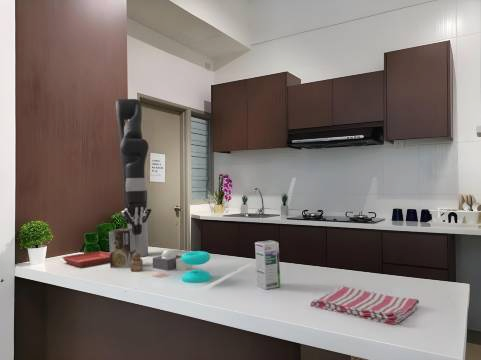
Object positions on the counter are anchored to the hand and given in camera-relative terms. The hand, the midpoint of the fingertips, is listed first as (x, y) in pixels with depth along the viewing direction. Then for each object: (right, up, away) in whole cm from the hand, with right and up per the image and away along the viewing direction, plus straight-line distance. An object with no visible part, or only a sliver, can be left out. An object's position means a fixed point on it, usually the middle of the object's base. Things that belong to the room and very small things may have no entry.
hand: (136, 234), depth 143 cm
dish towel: (+73, -13, -45) cm, 87 cm away
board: (+9, -15, 0) cm, 17 cm away
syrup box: (+49, -14, -24) cm, 56 cm away
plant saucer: (-28, -17, +24) cm, 40 cm away
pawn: (0, -14, 0) cm, 14 cm away
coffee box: (-8, -16, +9) cm, 20 cm away
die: (+18, -14, +1) cm, 23 cm away
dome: (+12, -13, +5) cm, 18 cm away
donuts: (+25, -14, -15) cm, 33 cm away
